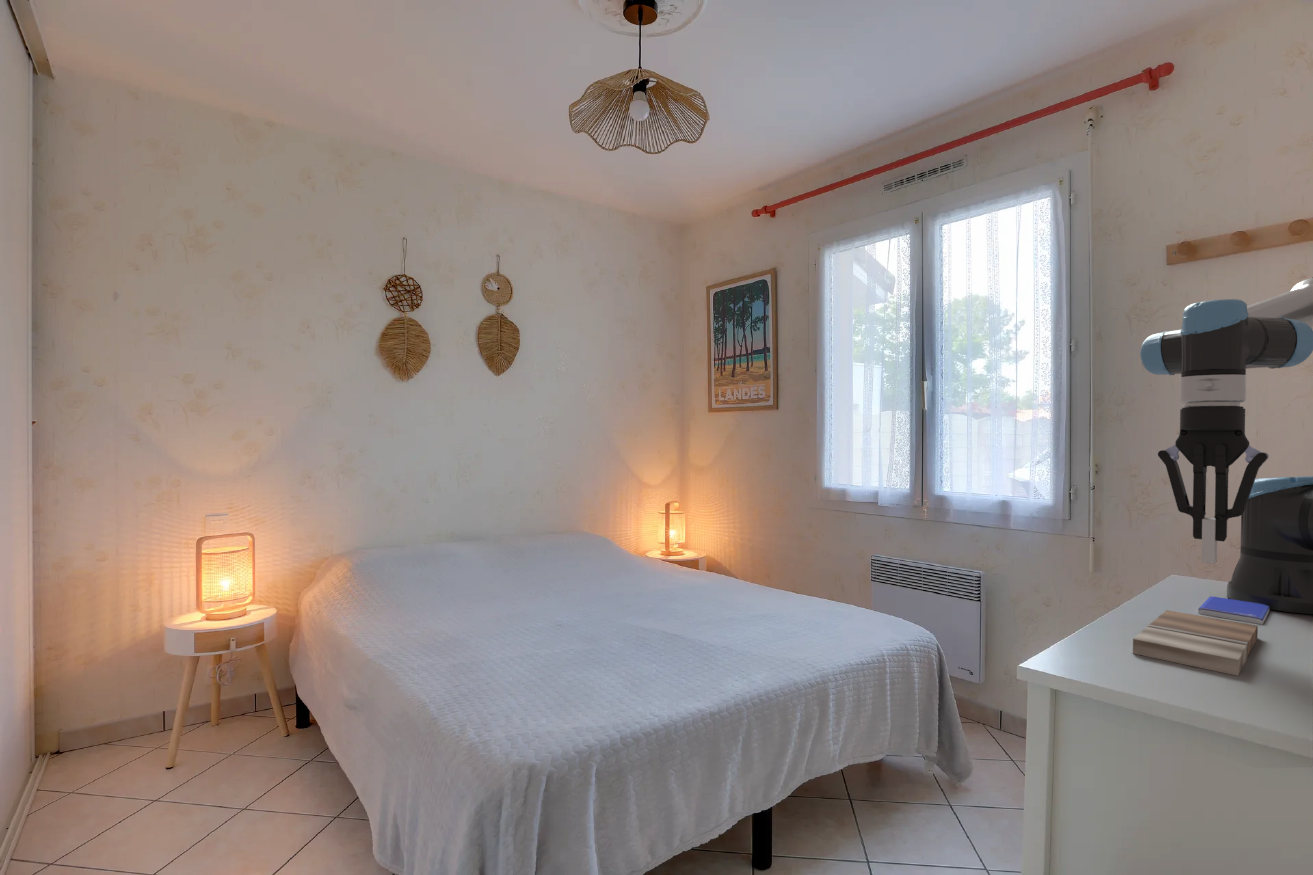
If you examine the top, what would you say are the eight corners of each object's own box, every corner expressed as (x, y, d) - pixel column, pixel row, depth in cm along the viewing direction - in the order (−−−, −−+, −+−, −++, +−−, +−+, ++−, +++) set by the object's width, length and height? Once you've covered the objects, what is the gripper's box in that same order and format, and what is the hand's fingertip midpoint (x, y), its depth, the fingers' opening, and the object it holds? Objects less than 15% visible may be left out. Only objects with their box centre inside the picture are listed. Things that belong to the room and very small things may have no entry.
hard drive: (1262, 617, 108) (1269, 604, 116) (1198, 607, 114) (1209, 595, 122) (1262, 627, 108) (1269, 613, 116) (1197, 616, 114) (1208, 603, 122)
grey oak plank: (1238, 675, 84) (1238, 658, 84) (1132, 653, 92) (1133, 637, 92) (1247, 657, 91) (1247, 642, 91) (1148, 638, 99) (1148, 624, 99)
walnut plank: (1247, 656, 91) (1248, 642, 91) (1149, 637, 99) (1149, 624, 99) (1257, 638, 100) (1257, 625, 100) (1166, 621, 108) (1166, 610, 108)
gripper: (1153, 405, 102) (1150, 558, 103) (1268, 403, 93) (1265, 572, 93) (1163, 406, 107) (1160, 552, 108) (1273, 404, 98) (1270, 564, 98)
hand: (1209, 561), depth 101 cm, fingers closed
